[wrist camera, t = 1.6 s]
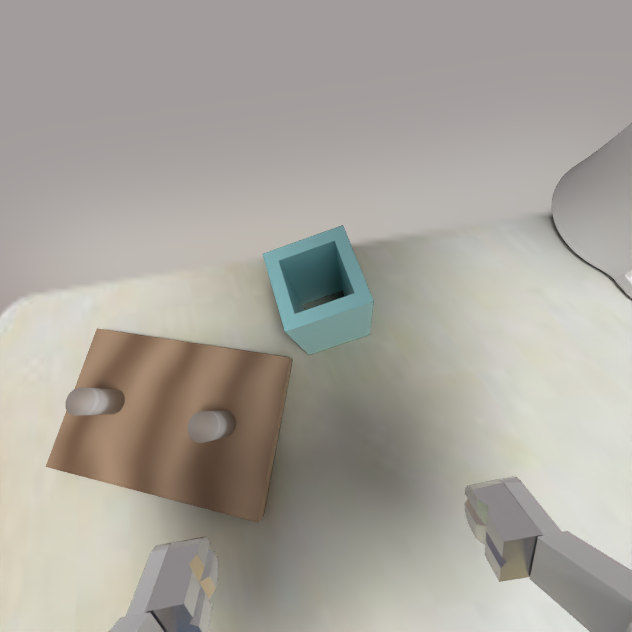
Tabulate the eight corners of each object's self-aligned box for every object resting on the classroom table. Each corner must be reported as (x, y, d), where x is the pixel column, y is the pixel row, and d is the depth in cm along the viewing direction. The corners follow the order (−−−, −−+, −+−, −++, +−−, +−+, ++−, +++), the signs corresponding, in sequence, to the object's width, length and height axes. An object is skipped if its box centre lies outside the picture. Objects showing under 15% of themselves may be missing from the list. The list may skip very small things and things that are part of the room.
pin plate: (292, 359, 30) (278, 350, 25) (263, 515, 26) (239, 543, 21) (107, 331, 34) (62, 318, 29) (60, 463, 30) (-2, 475, 25)
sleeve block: (348, 279, 32) (342, 225, 22) (369, 334, 30) (373, 301, 20) (291, 298, 32) (262, 253, 22) (309, 355, 30) (284, 331, 20)
